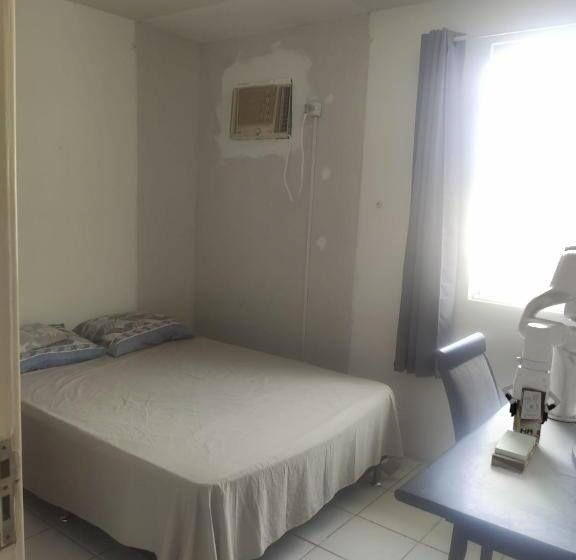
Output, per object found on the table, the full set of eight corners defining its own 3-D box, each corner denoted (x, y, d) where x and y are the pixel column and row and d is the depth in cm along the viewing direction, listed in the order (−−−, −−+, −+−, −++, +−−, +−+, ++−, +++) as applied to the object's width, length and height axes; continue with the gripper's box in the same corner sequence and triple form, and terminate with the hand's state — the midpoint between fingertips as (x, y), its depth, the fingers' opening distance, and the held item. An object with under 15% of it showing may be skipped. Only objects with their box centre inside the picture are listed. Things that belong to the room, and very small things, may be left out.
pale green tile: (507, 434, 169) (507, 429, 169) (535, 442, 165) (536, 437, 165) (494, 452, 156) (495, 447, 155) (525, 461, 151) (525, 456, 151)
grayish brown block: (505, 443, 169) (506, 433, 169) (534, 451, 165) (535, 441, 164) (490, 465, 154) (492, 454, 153) (521, 474, 150) (523, 463, 149)
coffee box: (540, 444, 168) (546, 392, 165) (517, 441, 169) (523, 389, 167) (533, 431, 177) (539, 382, 174) (511, 428, 178) (517, 380, 176)
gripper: (501, 361, 171) (495, 415, 174) (564, 373, 162) (556, 431, 164) (507, 355, 177) (501, 408, 180) (568, 367, 168) (560, 422, 171)
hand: (527, 418), depth 172 cm, fingers closed on coffee box, 8 cm apart
